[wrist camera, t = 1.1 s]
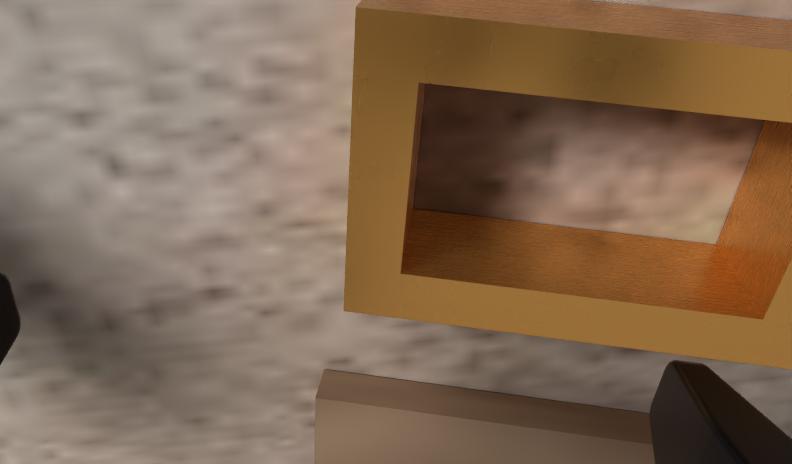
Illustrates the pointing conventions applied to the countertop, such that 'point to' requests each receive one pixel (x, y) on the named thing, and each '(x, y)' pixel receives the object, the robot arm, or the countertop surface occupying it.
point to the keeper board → (466, 426)
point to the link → (564, 246)
